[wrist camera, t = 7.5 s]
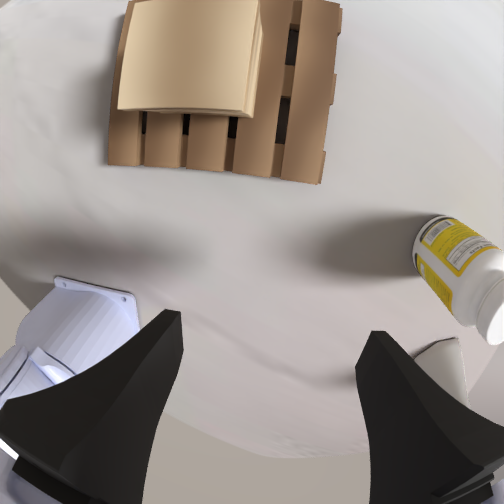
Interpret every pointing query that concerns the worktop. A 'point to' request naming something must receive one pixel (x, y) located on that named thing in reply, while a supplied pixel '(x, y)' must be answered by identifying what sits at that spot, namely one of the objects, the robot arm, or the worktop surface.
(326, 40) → the pallet
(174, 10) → the cardboard box
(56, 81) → the worktop surface
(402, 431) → the robot arm
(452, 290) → the supplement bottle
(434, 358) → the flask
